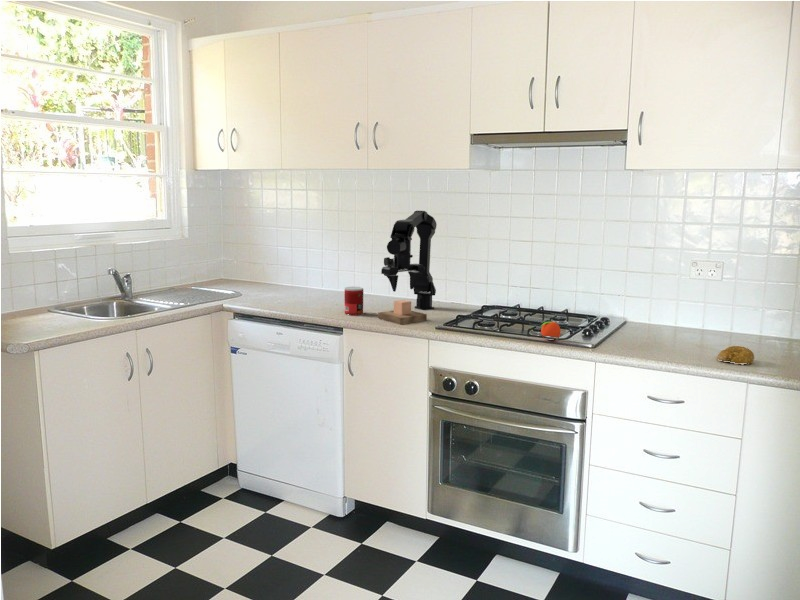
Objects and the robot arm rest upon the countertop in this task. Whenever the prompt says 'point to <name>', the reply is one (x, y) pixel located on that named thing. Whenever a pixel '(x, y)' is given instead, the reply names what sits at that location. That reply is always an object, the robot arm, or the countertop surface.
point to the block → (402, 307)
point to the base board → (402, 317)
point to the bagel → (736, 355)
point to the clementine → (550, 329)
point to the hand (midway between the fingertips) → (402, 290)
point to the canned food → (353, 300)
